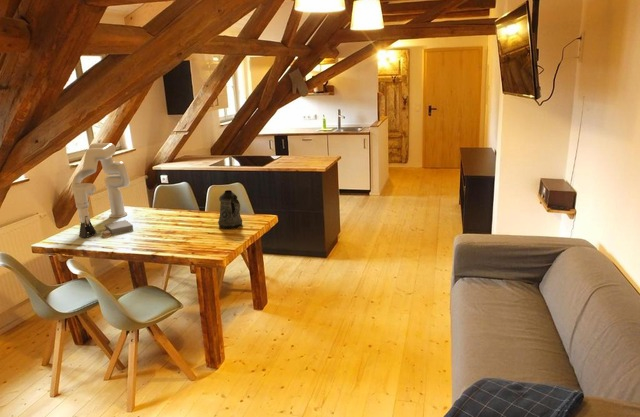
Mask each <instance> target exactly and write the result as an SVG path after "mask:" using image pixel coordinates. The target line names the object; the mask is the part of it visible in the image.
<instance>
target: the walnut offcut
mask: <svg viewBox="0 0 640 417" xmlns="http://www.w3.org/2000/svg"><path fill="white" fill-rule="evenodd" d="M101 235H102V237H103V238H108V237H112V235H111V232H110V231H108V230H104V231H101Z"/></svg>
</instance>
